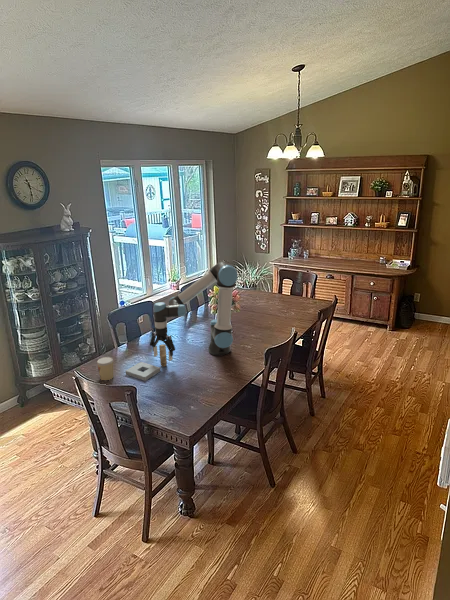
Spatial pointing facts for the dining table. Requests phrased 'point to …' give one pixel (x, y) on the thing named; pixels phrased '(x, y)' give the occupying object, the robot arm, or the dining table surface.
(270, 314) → the dining table surface
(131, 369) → the board
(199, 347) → the dining table surface
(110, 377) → the coffee cup
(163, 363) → the beech peg
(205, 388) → the dining table surface
